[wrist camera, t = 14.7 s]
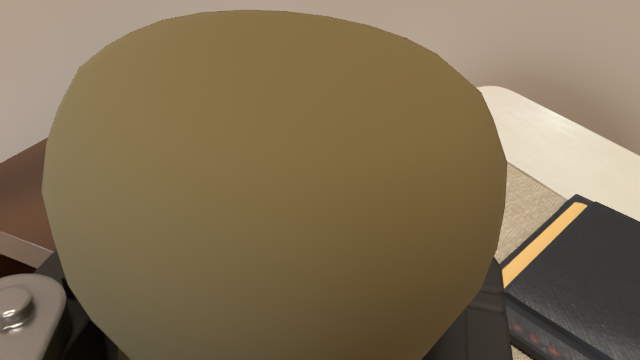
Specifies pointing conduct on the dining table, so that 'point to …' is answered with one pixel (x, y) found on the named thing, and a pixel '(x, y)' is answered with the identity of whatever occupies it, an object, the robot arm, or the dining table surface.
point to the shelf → (23, 213)
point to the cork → (273, 190)
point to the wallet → (576, 286)
